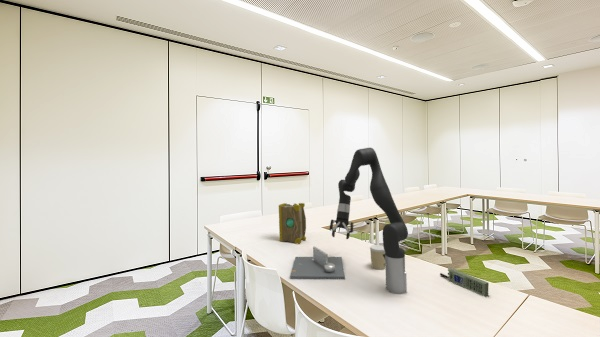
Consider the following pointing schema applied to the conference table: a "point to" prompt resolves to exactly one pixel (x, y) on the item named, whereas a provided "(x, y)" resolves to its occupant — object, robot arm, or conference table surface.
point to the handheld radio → (467, 281)
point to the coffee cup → (377, 257)
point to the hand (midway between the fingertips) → (340, 238)
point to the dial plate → (316, 269)
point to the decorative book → (292, 222)
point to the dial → (323, 259)
